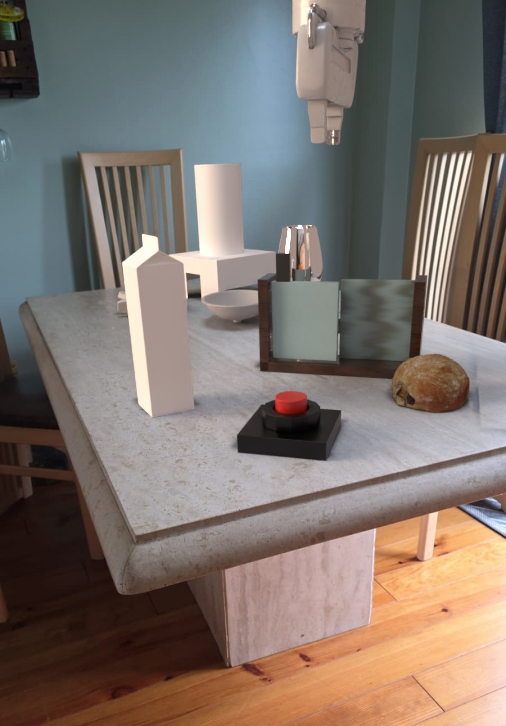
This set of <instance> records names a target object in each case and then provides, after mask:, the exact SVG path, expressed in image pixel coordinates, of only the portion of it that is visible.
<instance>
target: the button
mask: <svg viewBox="0 0 506 726" xmlns="http://www.w3.org/2000/svg"><path fill="white" fill-rule="evenodd" d="M307 399H308V395H307V394H306V393H305V392H301V391H298V390H297V391H296V390H295V391H294V390H286V391H282V392H281V391H280V392H279V393H276V394H275V396H274V400H275V411H276V412H279V413H282V414H298V413H303V412H305V411H307Z"/></svg>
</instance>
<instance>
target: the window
mask: <svg viewBox="0 0 506 726" xmlns="http://www.w3.org/2000/svg"><path fill="white" fill-rule="evenodd" d="M339 319H340V281H322V280H321V281H291V262H290V253H278V252H276V281H272V328H273V358H288V359H308V360H327V361H337V359H338V355H339V332H338V322H339Z"/></svg>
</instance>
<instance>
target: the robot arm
mask: <svg viewBox="0 0 506 726" xmlns="http://www.w3.org/2000/svg"><path fill="white" fill-rule="evenodd" d="M291 1H292V2H291V3H292V4H291V6H292V7H291V8H292V11H291V12H292V14H291V16H292V17H291V19H292V20H291V23H292V25H291V27H292V28H291V32H292V37H294V38H295V39H296V44H297V45H296V61H295V88H296V89H295V90H296V95H297V98H298V99H300V100H303V101H305V102H307V115H308V119H309V120H308V121H309V127H310V142H311V143H312V144H318V145H319V144H326V145H328V146H338V145H339V144H340V143H341V131H342V124H343V119H344V109H350V108H351V107H352V106H353V102H354V97H355V91H356V90H355V89H356V82H357V81H356V80H357V73H358V72H357V71H358V62H359V61H358V60H359V44H363V42H364V36H365V35H364V33H365V29H366V25H365V24H366V7H367V6H366V5H367V0H291Z"/></svg>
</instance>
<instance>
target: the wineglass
mask: <svg viewBox="0 0 506 726" xmlns="http://www.w3.org/2000/svg"><path fill="white" fill-rule="evenodd" d="M278 244H279V245H278V251H277V253H290V262H291V281H322V280H323V275H324V263H323V262H324V261H323V254H322V248H321V242H320V237H319V231H318V228H317V225H312V224H311V225H310V224H297V225H286V226H285V225H284V226H282V231H281V235H280V240H279V243H278Z"/></svg>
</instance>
